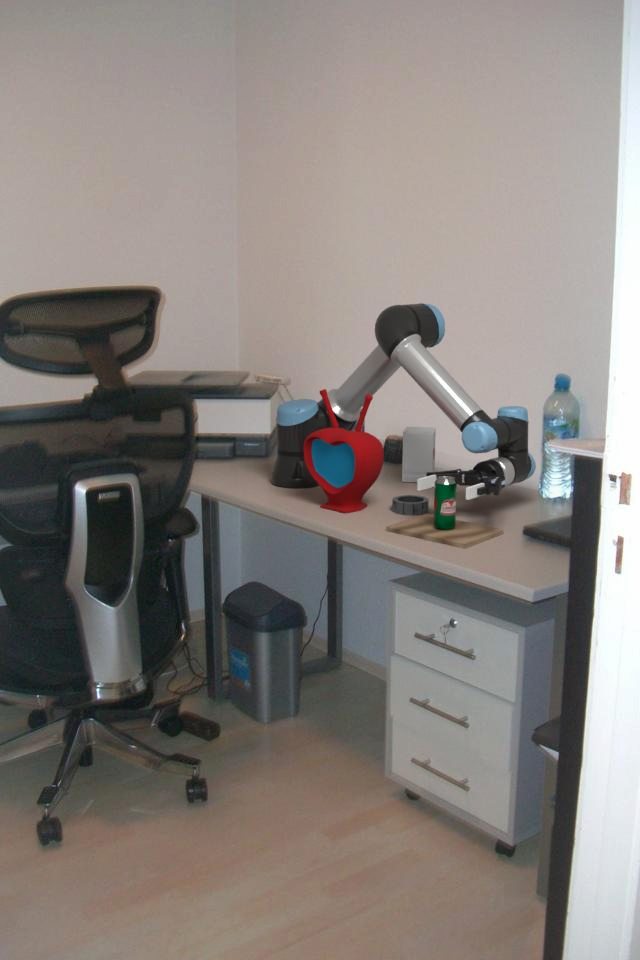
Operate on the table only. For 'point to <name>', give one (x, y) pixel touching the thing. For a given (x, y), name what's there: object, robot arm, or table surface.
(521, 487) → the table surface
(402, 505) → the sleeve
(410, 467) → the supplement box
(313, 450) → the novelty television
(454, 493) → the soda can
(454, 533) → the walnut board
